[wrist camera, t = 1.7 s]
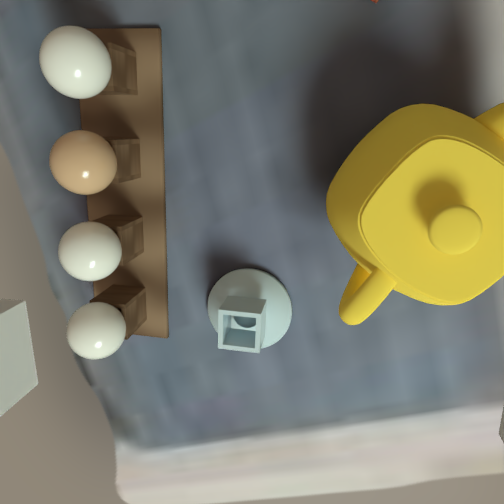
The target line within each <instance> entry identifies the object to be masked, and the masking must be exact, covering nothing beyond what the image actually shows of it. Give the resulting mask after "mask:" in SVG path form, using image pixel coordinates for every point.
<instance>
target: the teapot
mask: <svg viewBox="0 0 504 504" xmlns="http://www.w3.org/2000/svg"><path fill="white" fill-rule="evenodd" d="M326 209H327V215H328V218H329V222H330V224H331V226H332V228H333V229H334V231H335V233H336V235H337V236H338V238H339V240H340V241H341V243H342V244H343V246H344V247H345V248H346V250H347V251H348V252H349V254H350V255H351V256H352V257H353V258H354V259H355V261H356V262H357V263H358V264H357V266H356V268H355V270H354V272H353V274H352V276H351V278H350V280H349V282H348V284H347V286H346V289H345V291H344V293H343V296H342V299H341V302H340V305H339V316H340V317H341V319H342V320H343V321H344V322H345V323H347V324H349V325H356V324H359V323H361V322H362V321H364V320H365V319H366V318H367V317H369V316H370V315H371V314H372V313H373V311H374V310H375V309H376V308H377V307H378V306H379V305H380V304H381V302H382V301H383V300H384V299H385V298H386V297H387V295H388V294H389V293H390V292H391V290H392V289H394V290H396V291H398V292H400V293H402V294H404V295H407V296H409V297H411V298H414V299H416V300H419V301H422V302H425V303H430V304H436V305H456V304H461V303H464V302H466V301H469V300H471V299H472V298H474V297H476V296H477V295H479V294H480V293H482V292H483V291H485V290H486V289H487V288H489V287H490V286H491V285H493V284H494V283H495V282H496V281H498V280H499V279H500V278H501V277H502V276H504V103H501V104H499V105H497V106H495V107H493V108H491V109H490V110H488V111H486V112H484V113H483V114H481V115H479V116H477V117H476V118H474V119H473V118H471V117H468V116H466V115H464V114H462V113H459V112H457V111H454V110H451V109H449V108H445V107H442V106H438V105H435V104H415V105H409V106H406V107H403V108H400V109H398V110H397V111H395V112H393V113H391V114H390V115H389V116H387V117H386V118H385V119H384V120H382V121H381V122H380V123H379V124H378V125H377V126H375V127H374V128H373V129H372V130H371V131H370V132H369V133H368V134H367V135H366V136H365V137H364V138H363V139H362V140H361V141H360V142H359V143H358V144H357V146H356V147H355V148H354V149H353V150H352V152H351V153H350V154H349V156H348V157H347V158H346V160H345V161H344V163H343V164H342V166H341V167H340V169H339V170H338V172H337V173H336V175H335V177H334V178H333V180H332V182H331V184H330V186H329V189H328V192H327V198H326Z"/></svg>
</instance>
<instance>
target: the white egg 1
mask: <svg viewBox="0 0 504 504" xmlns="http://www.w3.org/2000/svg"><path fill="white" fill-rule="evenodd" d="M39 62H40V66H41V70H42V72H43V75H44V77H45V78H46V80H47V81H48V82H49V84H50V85H51V86H52V87H53V88H54V89H56V90H57V91H58V92H60V93H61V94H63V95H65V96H68V97H71V98H75V99H86V98H90V97H93V96H95V95H97V94H99V93H100V92H101V91H103V89H104V88H105V87H106V86H107V84H108V82H109V80H110V77H111V72H112V64H111V58H110V55H109V52H108V50H107V48H106V47H105V45H104V43H103V42H102V41H101V40H100V39H99V38H98V37H97V36H96V35H95V34H94V33H92V32H90V31H89V30H87V29H85V28H82V27H78V26H71V25H68V26H62V27H58V28H56V29H54V30H53V31H51V32H50V33H49V34H48V35H47V36H46V37H45V38H44V40H43V42H42V44H41V47H40V52H39Z"/></svg>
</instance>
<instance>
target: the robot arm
mask: <svg viewBox="0 0 504 504" xmlns="http://www.w3.org/2000/svg"><path fill="white" fill-rule="evenodd" d="M37 384H38V379H37V373H36V367H35V360H34V353H33V347H32V341H31V335H30V328H29V321H28V315H27V309H26V302H25V300H11V299H1V300H0V416H2V415H3V414H4V413H5V412H6V411H7V410H9V409H10V408H11V407H12V406H13V405H14V404H16V403H17V402H18V401H19V400H20V399H21V398H22V397H24V396H25V395H26V394H27V393H28V392H29V391H31V390H32V389H33V388H34V387H35V386H36V385H37ZM499 435H500V437H501V439H502V440H503V442H504V407H503V413H502V418H501V424H500V429H499Z"/></svg>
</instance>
